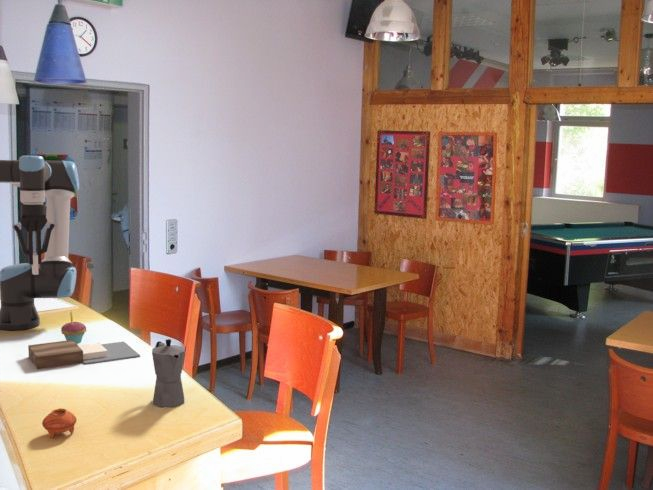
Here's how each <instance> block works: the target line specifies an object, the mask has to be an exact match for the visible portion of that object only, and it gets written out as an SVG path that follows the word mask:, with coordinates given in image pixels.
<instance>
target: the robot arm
mask: <svg viewBox="0 0 653 490" xmlns="http://www.w3.org/2000/svg"><path fill="white" fill-rule="evenodd" d="M79 180H80V179H79V173H78V168H77V165H76V163H75V162H74V161H73V160H72V161H70V160H63V159H62V160H45V159H44V157H43V156H42V155H22V156H20V157H19V158H18V159H16V160H15V159H14V160H13V159H11V160H9V159H0V183H1V184H2V183H4V184H10V185H12V186H14V187H17V188H19V194H20V196H19V199H20V200H19V201H20V203H21V204H20V218H19V222H17V223H15V224H12V228H13V230H14V231H15V233H16V236H17V239H18V243H19V246H20V249H21V252H22V253H23V254H25V255H27V256H28V257H27V259H28V262H25V263H16V264H11V265H7V266H5V267H2V268H1V269H0V330H2V329H4V330H3V331H23V330H29V329H34V328H36V327H39V326H40V324H41V320H40V315H39V313H38V310H37V307H36V306H35V305H36V304H35V299H63V298H65V299H66V298H70V297H71V296H72V295H73V294H74V292H75V288H76V287H75V286H76V282H77V268H76V267H75V266H73V262H72V261H71V260H70V258H69V246H70V244H69V243H70V218H71V199H72V198H74V197H75V196H76V195H75V194H76V192H77V191H79V190H80V181H79ZM45 202H46V204H45ZM22 227H23V229H25V230H26V235H27V237H26V238H27V241H26V242H27V246H26V243H25V240H24V236H23V233H22ZM44 227H45V233H44V238H43V242H42V230H43V229H44ZM34 232H35V233H34ZM34 234H35V253H34V242H33V239H34V238H33V237H34V236H33V235H34ZM43 254H44V258H43V259H42V255H43Z"/></svg>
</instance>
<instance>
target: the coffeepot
mask: <svg viewBox="0 0 653 490" xmlns="http://www.w3.org/2000/svg"><path fill="white" fill-rule="evenodd" d="M171 344H172V339H170V338H169V339H167V338H166V339H165V343H164V342H162V341H161V340H160V341H157V342H156V344H155V347H152V351H151V354H152V355H151V356H152V362H153V367H154V375H156V377H155V378H156V379H155V385H154V392H153V397H152V398H153V399H152V405H154V406H155V405H156V406H155V407H158V408H164V407H169V408H176V407H179V406H181V404H182V405H183V404H184V403H185V393H184V388H183V382H182V372H183V371H182V370H183V364H184V357H185V349H186V348H185V347H183V346H180V345H177V344H173V345H171Z"/></svg>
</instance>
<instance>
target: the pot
mask: <svg viewBox="0 0 653 490" xmlns="http://www.w3.org/2000/svg"><path fill="white" fill-rule="evenodd" d="M76 423H77V417H76V415H75V414H73V413H72V412H71V411H69V410H67V409H65V408H56V409H52V410H51V412H50V413H48V414H47V415H46V416H45V417H44V418H43V420H42V423H41V424H42V427H43V428H44V429H45V430H46V431H47V433H48V435H49V438H51V439H53V438H54V435H55V434H63V433H66V432H68V431H69V432H70V435H73V434H74V431H75V425H76Z"/></svg>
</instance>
